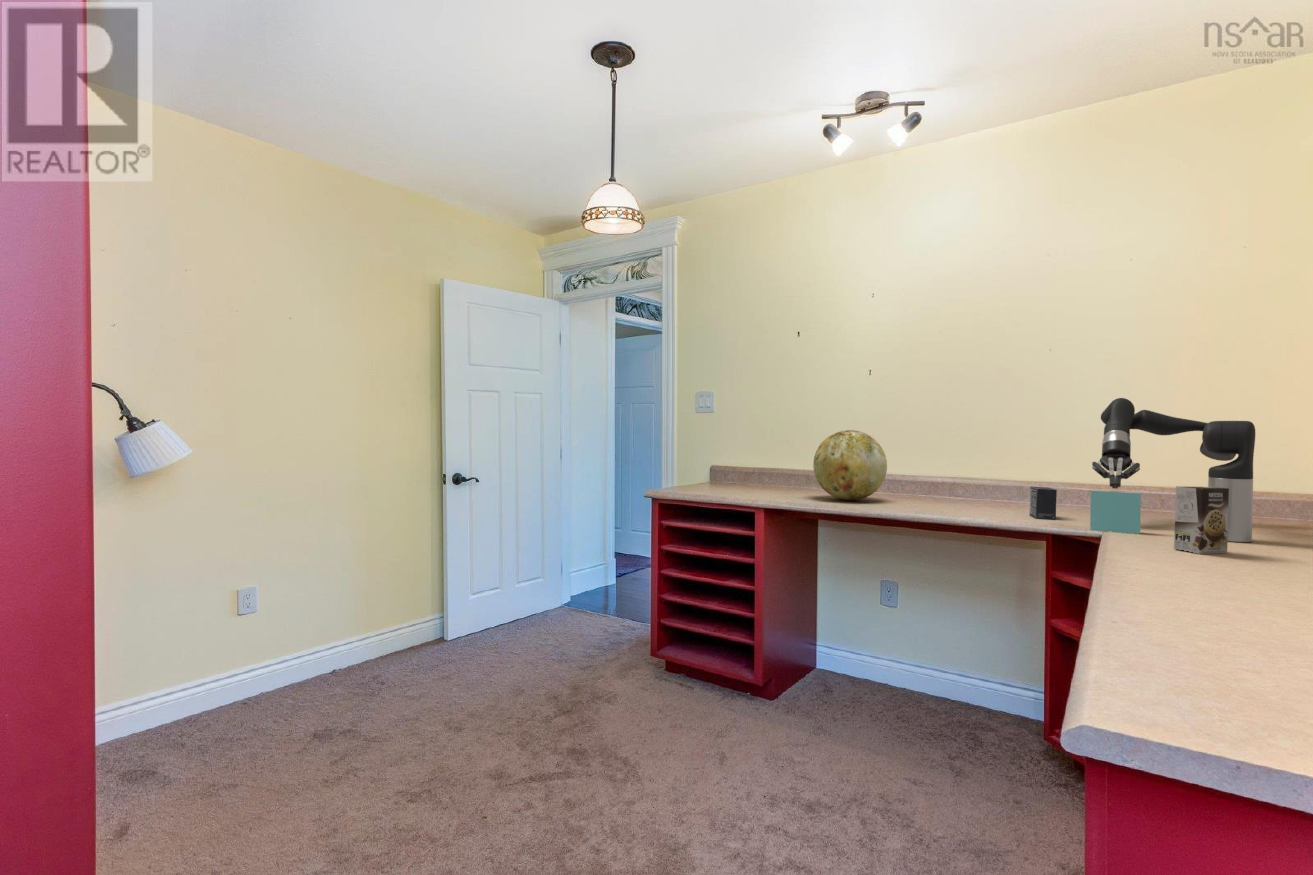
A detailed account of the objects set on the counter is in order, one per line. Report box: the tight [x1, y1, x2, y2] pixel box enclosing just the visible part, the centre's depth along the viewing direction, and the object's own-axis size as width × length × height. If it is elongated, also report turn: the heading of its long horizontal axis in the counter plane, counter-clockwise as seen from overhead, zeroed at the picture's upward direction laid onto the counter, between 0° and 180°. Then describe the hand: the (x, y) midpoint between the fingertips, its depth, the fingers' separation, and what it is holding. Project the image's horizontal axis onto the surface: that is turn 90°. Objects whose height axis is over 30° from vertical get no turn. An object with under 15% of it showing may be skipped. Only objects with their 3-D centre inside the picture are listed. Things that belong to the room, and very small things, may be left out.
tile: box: [1089, 489, 1142, 535], centre depth 187 cm, size 4×12×12 cm, turn 53°
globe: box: [812, 429, 888, 502], centre depth 266 cm, size 30×30×30 cm
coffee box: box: [1173, 486, 1229, 555], centre depth 155 cm, size 9×6×16 cm
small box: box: [1028, 486, 1058, 520], centre depth 218 cm, size 11×6×10 cm, turn 160°
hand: (1114, 486), depth 195 cm, fingers closed
